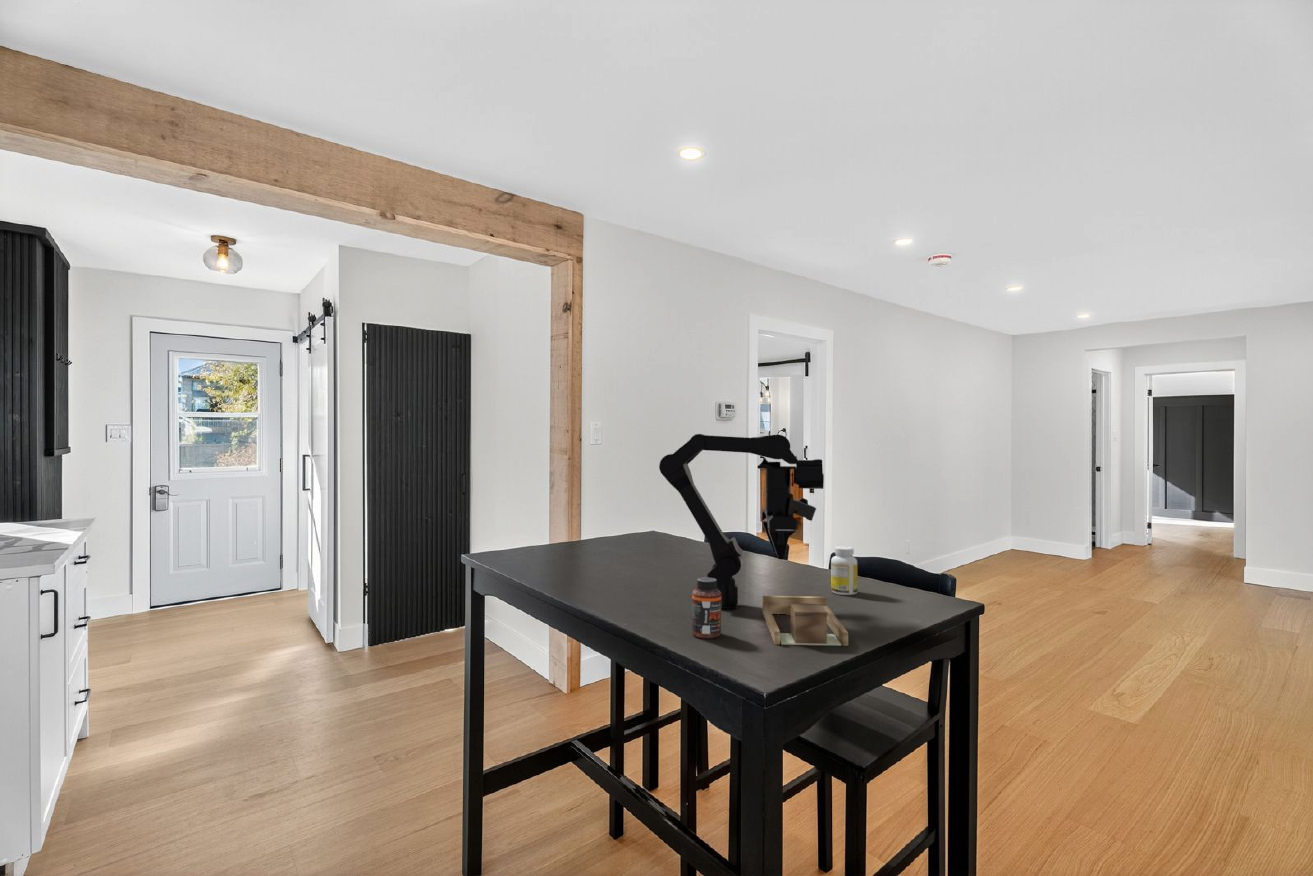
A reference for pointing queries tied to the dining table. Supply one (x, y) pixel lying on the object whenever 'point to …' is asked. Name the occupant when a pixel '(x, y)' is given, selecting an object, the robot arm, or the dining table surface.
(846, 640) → the bay
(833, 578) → the pill bottle
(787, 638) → the front pad
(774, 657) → the dining table surface
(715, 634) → the supplement bottle
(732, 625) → the dining table surface
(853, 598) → the dining table surface
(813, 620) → the crate
